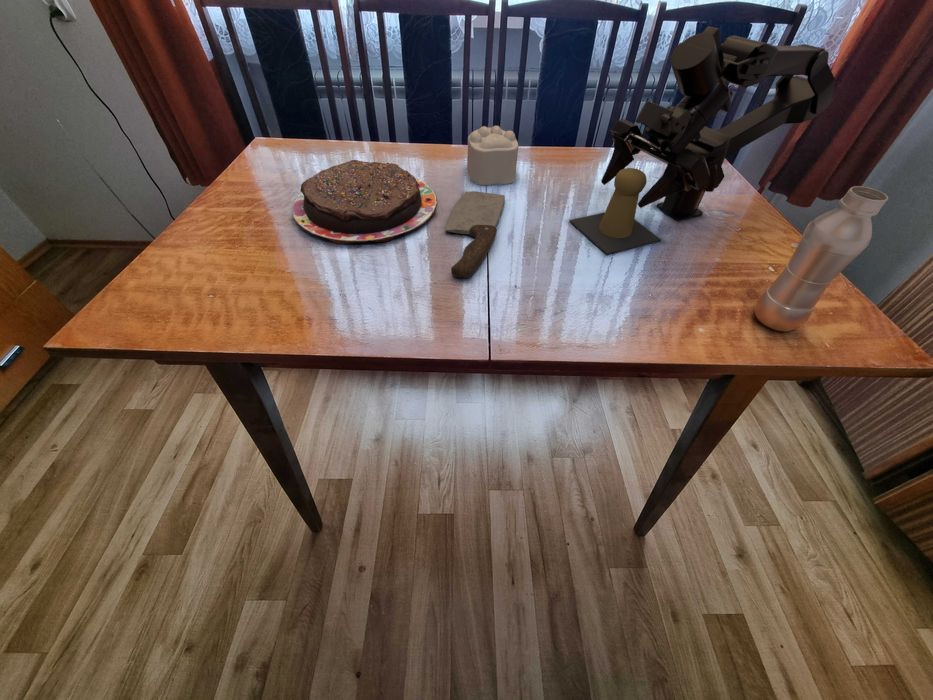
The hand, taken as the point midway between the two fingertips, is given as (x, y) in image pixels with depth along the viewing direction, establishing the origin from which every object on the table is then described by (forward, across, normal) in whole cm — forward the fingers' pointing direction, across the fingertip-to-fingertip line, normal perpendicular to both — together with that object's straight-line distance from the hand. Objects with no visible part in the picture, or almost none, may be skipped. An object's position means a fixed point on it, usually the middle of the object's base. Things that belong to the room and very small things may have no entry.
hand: (620, 194), depth 73 cm
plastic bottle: (+2, +30, +10) cm, 32 cm away
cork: (+4, 0, +6) cm, 8 cm away
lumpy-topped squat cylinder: (+10, -32, +1) cm, 34 cm away
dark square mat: (+4, 0, +6) cm, 8 cm away
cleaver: (+22, -12, -11) cm, 27 cm away
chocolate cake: (+32, -29, -21) cm, 48 cm away
